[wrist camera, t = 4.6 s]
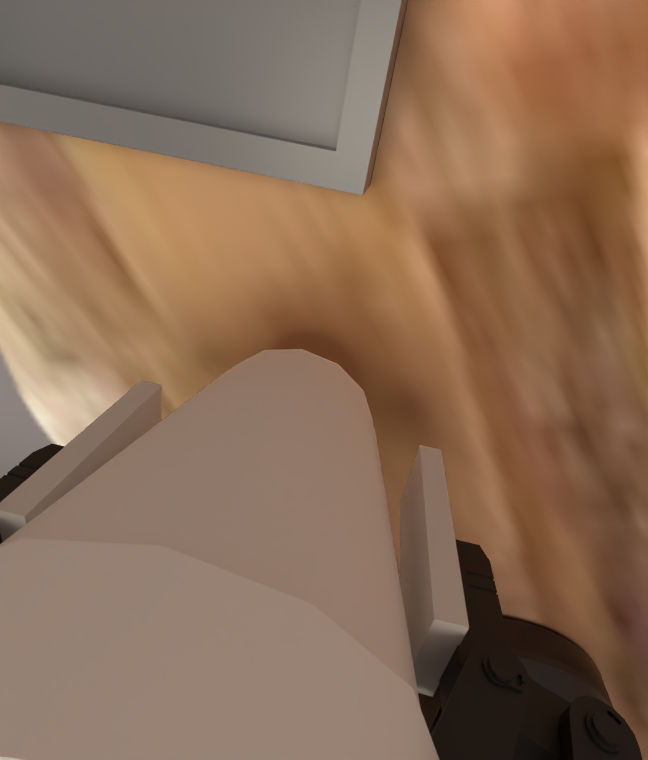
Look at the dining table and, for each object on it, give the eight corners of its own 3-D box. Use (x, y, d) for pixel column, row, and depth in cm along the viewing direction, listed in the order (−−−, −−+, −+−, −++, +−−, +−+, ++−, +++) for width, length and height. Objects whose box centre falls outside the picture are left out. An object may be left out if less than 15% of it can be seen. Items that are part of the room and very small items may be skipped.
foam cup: (158, 463, 19) (-192, 908, 8) (207, 265, 15) (-402, 602, 4) (358, 542, 20) (305, 1079, 8) (460, 371, 15) (653, 987, 4)
